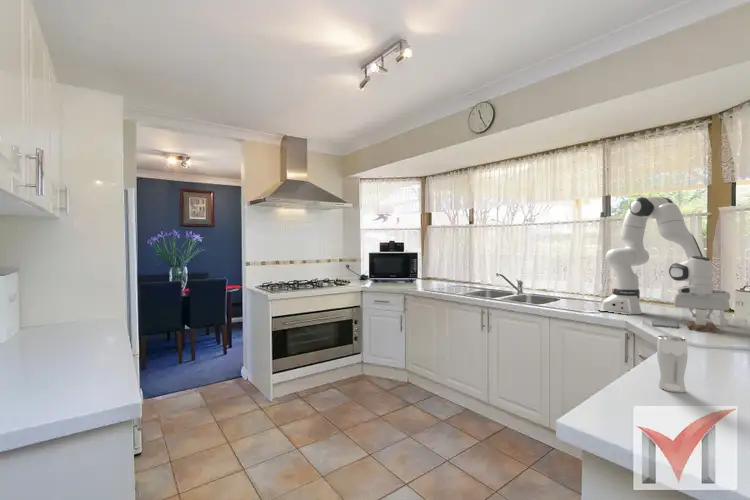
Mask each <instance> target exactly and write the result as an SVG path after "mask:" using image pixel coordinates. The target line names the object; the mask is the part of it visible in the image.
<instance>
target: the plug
mask: <svg viewBox="0 0 750 500" xmlns="http://www.w3.org/2000/svg"><path fill="white" fill-rule="evenodd" d="M694 309H695V311H694V312H695V314H696V317H694V318H695V319H694V321H695V325H705V326H706V322H707V318H706V314H707V309H697V308H694Z"/></svg>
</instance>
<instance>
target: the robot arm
mask: <svg viewBox="0 0 750 500" xmlns="http://www.w3.org/2000/svg"><path fill="white" fill-rule="evenodd" d="M650 217H651V218H655V219H656V224H657V228H658V229H657V230H658V233H659V234H660V236H661V237H662V238H663V239H664V240H667V241H670V242H673V243H675V244H677V245H679V246H680V247H682V248H683V251H684V253H685V255H686V257H687V259H686V260H684V261H678V262H676V263H672V264H671V265H670V266H669V269H668V275H669V277H670V278H671V279H672V280H673V281H677V282H688V285H685V286H680V287H677V289H676V290H677V292H676V293H675V294H674V299H673V305H674V307H675V308H682V309H683V308H685V309H686V308H687V309H688V311H690V313H691V317H692V318H695V317H696V314H695V313H694V312H693V311H694V309H695V308H697V309H706V310H708V313H706V319H709V320H710V318H711V316H712V312H713V310H724V311H729V310H730V307H731V305H730V299H731V293H730V292H728V291H726V290H717V289H715V290H714V282H713V275H714V267H713V263H712V260H711V258H709V257H705V256H704V255H703V254H702V250H701V248H700V247H699V244H698V242H697V240H696V238H695V236H694V235H693V233H691V232H690V231H689V228H688V227H687V226H686V223H685V220H684V216H683V214H682V212H681V210H680V208H679V206H678V205H677V204H675V203H674V201H672V199H670V198H669V197H662V196H661V197H660V196H659V197H658V196H649V197H647V196H646V197H644V196H643V197H642V196H641V197H636V198H634V199H632V201H631V202H630V204H629V209H628V210H627V212H626V214H625V216H624V219H623V222H622V223H623V224H622V226H621V227H622V228H621V233H620V238H621V239H622V241H624V244H625V246H624V247H616V248H613V249H609V250H608V251H607V252H606V254H605V261H606V262H607V264H608V265H610V266H611V268H612V270H613V271H614V274H615V283H616V285H615V287H616V288H614V287H613V288H612V289H611V292H612V294H610V295H609V296H608V297H606V298H604V299H603V300H602V303H601V306H600V307H601V309H602V310H607V311H609V312H614V313H613V314H618V313H621V314H620V315H627V314H628V316H629V315H640V314H643V311H642V309H641V304H640V303H641V302H640V298H641V293H640V289H639V276H638V274H637V273H636V272H635V273H634V270H633V269H632V267H635V266H641V265H644V264H647V263H648V261H649V259H650V254H649V252H648V251H647V250H646V249H645V246H644V235H645V231H646V227H647V222H648V219H649V218H650Z"/></svg>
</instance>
